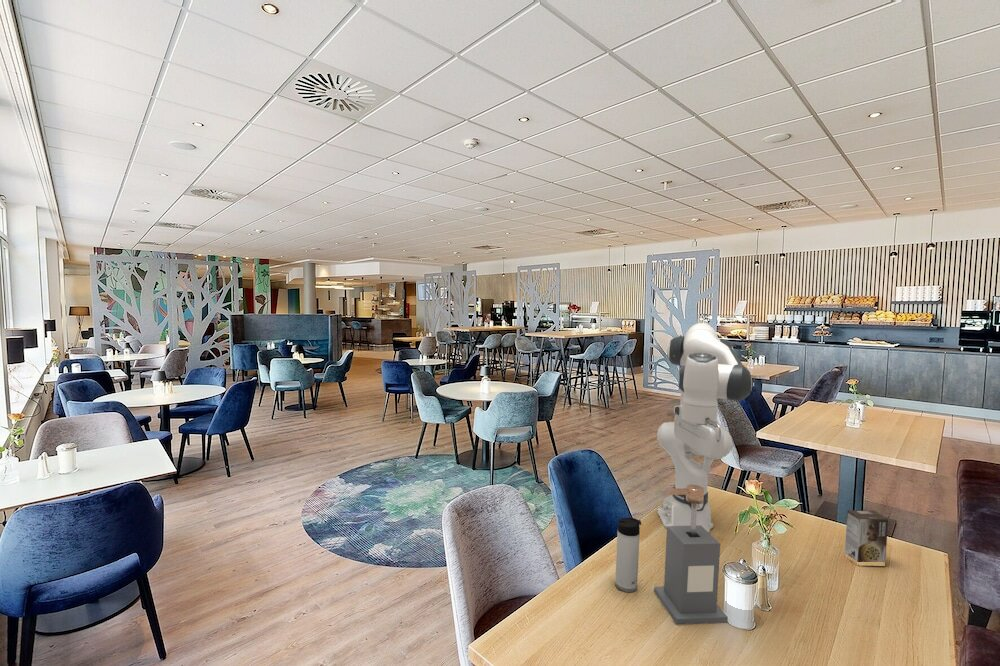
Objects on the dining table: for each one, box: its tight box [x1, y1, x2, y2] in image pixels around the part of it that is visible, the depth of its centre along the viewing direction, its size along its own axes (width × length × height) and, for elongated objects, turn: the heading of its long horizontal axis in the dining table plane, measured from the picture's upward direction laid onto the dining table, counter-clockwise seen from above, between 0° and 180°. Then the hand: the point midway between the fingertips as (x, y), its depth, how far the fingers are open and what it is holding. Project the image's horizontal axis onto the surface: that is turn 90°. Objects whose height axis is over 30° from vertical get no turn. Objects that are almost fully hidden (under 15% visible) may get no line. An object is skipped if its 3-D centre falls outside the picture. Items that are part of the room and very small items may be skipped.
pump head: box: [667, 485, 704, 537], centre depth 128 cm, size 4×10×20 cm, turn 95°
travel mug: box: [614, 517, 642, 593], centre depth 138 cm, size 6×7×20 cm
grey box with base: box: [653, 525, 729, 625], centre depth 129 cm, size 14×14×20 cm
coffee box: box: [844, 509, 889, 563], centre depth 155 cm, size 9×6×16 cm
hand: (696, 464), depth 127 cm, fingers open, 8 cm apart
